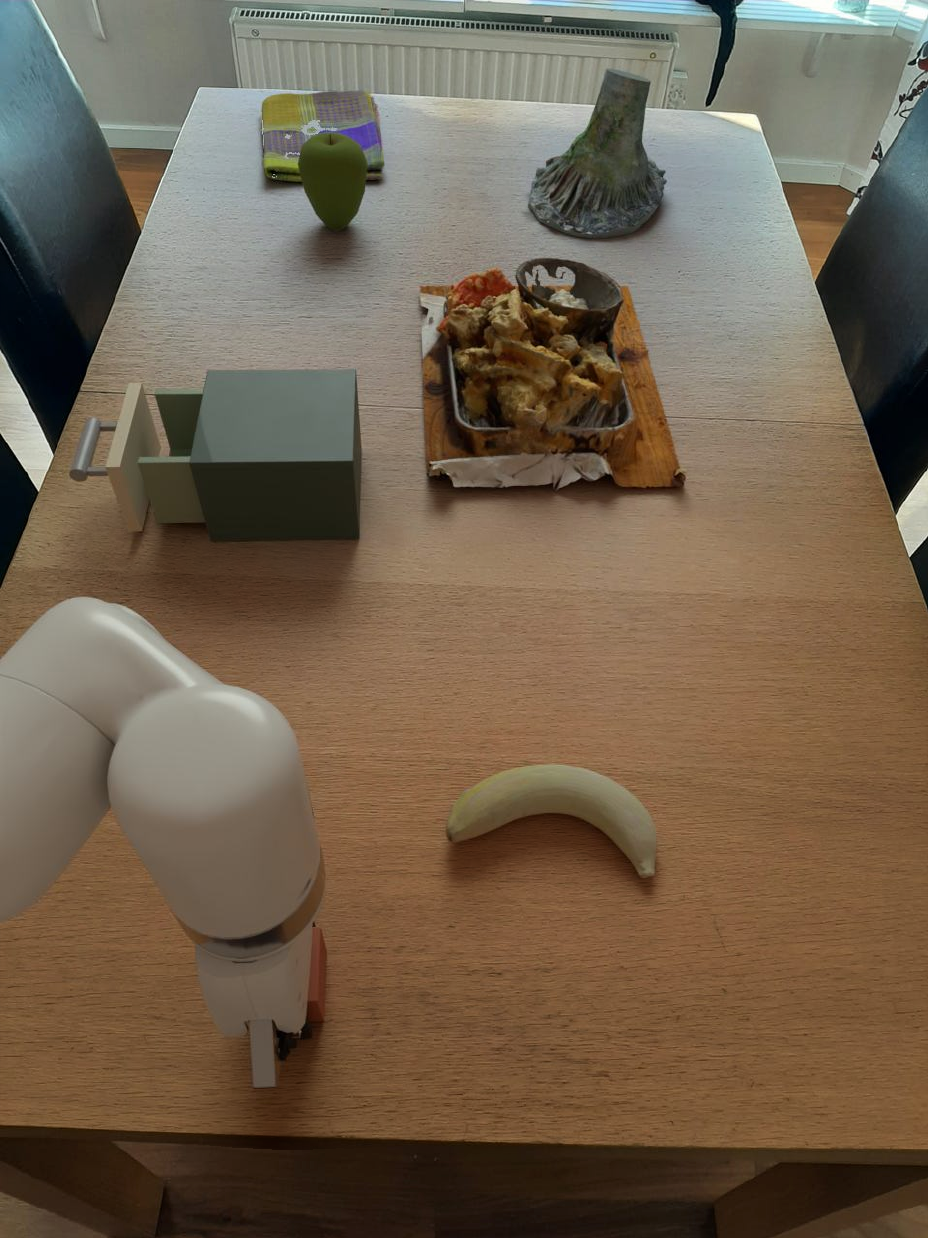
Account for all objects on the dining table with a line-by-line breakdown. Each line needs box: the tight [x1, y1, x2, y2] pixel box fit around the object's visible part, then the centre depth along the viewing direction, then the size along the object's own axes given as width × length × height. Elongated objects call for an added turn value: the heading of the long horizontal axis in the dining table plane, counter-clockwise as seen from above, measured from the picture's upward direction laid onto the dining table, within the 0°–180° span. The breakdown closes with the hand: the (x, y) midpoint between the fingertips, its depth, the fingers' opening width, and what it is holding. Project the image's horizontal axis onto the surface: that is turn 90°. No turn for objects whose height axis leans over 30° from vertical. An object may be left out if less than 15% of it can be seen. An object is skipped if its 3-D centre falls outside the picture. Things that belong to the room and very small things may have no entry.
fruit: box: [444, 763, 658, 879], centre depth 65 cm, size 7×15×3 cm, turn 81°
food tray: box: [419, 257, 688, 493], centre depth 95 cm, size 35×26×11 cm
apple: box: [298, 132, 368, 232], centre depth 113 cm, size 9×8×12 cm
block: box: [306, 926, 328, 1023], centre depth 57 cm, size 4×4×4 cm
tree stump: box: [527, 68, 668, 239], centre depth 120 cm, size 18×20×18 cm
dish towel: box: [260, 89, 385, 183], centre depth 131 cm, size 18×24×3 cm
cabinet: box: [189, 368, 363, 543], centre depth 83 cm, size 14×13×10 cm
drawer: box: [68, 382, 205, 532], centre depth 82 cm, size 17×11×8 cm
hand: (289, 984), depth 58 cm, fingers open, 5 cm apart
